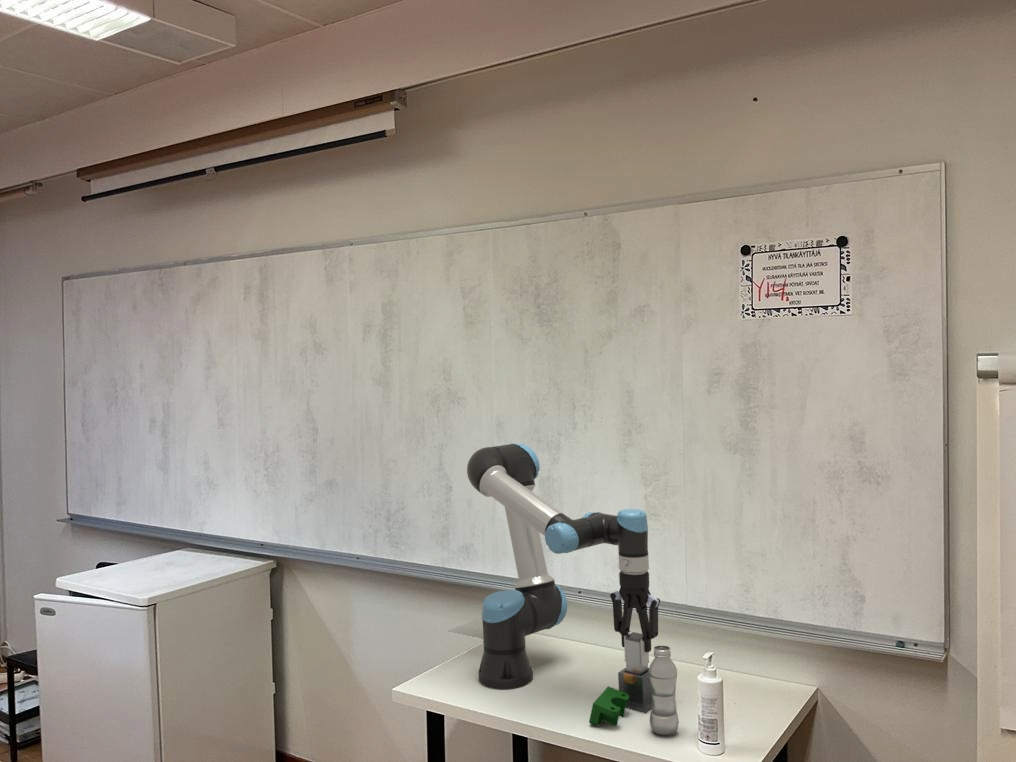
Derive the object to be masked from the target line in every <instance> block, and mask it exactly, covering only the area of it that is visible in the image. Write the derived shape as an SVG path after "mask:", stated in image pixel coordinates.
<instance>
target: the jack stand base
mask: <svg viewBox="0 0 1016 762" xmlns="http://www.w3.org/2000/svg"><path fill="white" fill-rule="evenodd" d="M617 676H618V677H617V678H618V680H617V681H618V690H619V691H621V692H624V693H626V694H628V695H629V700H628V703H627V704H626V707H625V709H627V708H629V710H631V709H632V711H635V712H638V711H639V713H642V712H643V714H648V711H649V712H651V706H652V691H651V682H650V676H649V667H648V672H647V673H645V674H643V675H642V676H638V675H634V674H630V673H626V667H625V668H623V669H621V670H620V671H618V673H617Z"/></svg>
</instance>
